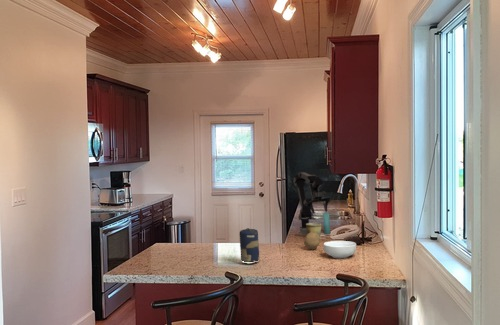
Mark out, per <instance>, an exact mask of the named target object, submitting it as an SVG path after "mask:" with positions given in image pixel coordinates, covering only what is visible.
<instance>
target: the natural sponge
mask: <svg viewBox="0 0 500 325" xmlns="http://www.w3.org/2000/svg"><path fill="white" fill-rule="evenodd" d="M320 243H321V237H320V238H319V236H318V235H317V234H316V233H314V232H311V233H309V234H307V236H305V238H304V240H303V245H304V246H305V247H306V248H308V249H309V250H312V251H314V250H315V249H317V247H319V245H321V244H320Z"/></svg>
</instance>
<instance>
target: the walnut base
mask: <svg viewBox="0 0 500 325" xmlns="http://www.w3.org/2000/svg"><path fill="white" fill-rule="evenodd" d="M307 234H308V231H307V228H300V229H299V232H297V233H295V234H294V236H295V237H306V236H307Z"/></svg>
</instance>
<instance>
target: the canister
mask: <svg viewBox="0 0 500 325" xmlns="http://www.w3.org/2000/svg"><path fill="white" fill-rule="evenodd" d="M239 247H240V261H241V260H242V261H244V262H254V261H258V260H259V261H260V245H259V232H258V230H257V229H254V228H249V227H248V228H247V227H246V228H245V229H240V231H239Z"/></svg>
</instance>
